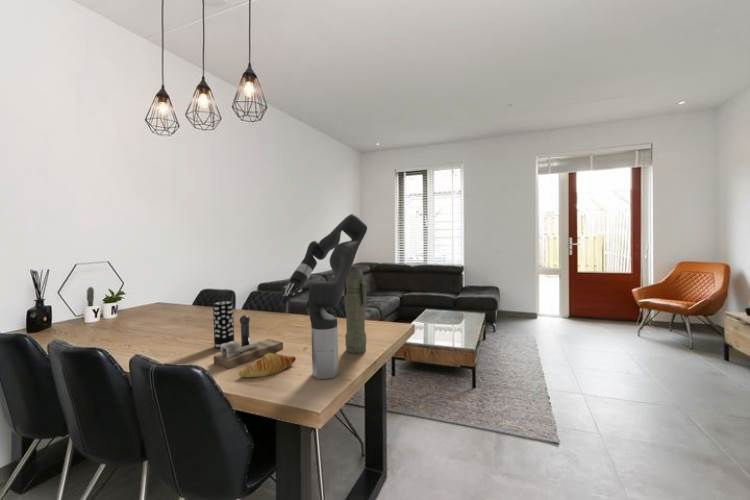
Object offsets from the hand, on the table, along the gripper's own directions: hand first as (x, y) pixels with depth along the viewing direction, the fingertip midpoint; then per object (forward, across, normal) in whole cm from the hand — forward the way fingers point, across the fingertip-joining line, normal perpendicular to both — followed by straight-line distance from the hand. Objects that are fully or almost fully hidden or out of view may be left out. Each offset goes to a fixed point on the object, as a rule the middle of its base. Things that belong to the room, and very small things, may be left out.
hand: (282, 304), depth 152 cm
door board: (+26, 0, -1) cm, 26 cm away
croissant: (+30, -20, +3) cm, 36 cm away
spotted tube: (+25, +21, -2) cm, 33 cm away
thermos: (+6, -34, -21) cm, 40 cm away
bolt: (+26, 0, +3) cm, 26 cm away
